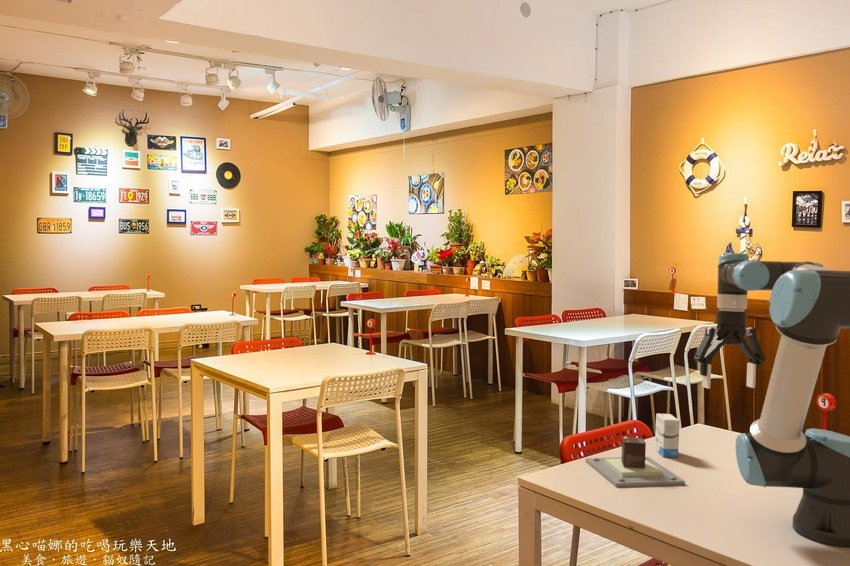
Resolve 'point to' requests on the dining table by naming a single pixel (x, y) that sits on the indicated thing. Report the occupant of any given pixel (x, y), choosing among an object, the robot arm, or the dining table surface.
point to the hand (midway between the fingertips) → (728, 387)
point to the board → (634, 473)
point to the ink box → (667, 435)
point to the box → (633, 452)
